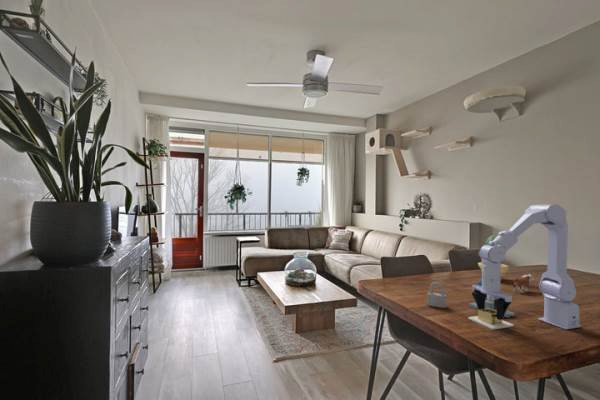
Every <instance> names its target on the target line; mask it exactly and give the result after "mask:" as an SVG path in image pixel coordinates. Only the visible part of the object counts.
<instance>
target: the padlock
mask: <svg viewBox="0 0 600 400" xmlns="http://www.w3.org/2000/svg"><path fill="white" fill-rule="evenodd" d="M434 286H439V287H440V293H439V292H438V293H437V292H433V291H434ZM426 302H427V304H426V305H427V306H430V307H435V308H440V309H441V308H442V309H446V308H447V295H446V294H445V287H444V285H443V284H442V283H441V282H437V281H434V282H432V283H430V286H429V292H427V301H426Z"/></svg>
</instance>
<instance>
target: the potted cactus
mask: <svg viewBox="0 0 600 400" xmlns="http://www.w3.org/2000/svg"><path fill="white" fill-rule="evenodd" d="M497 236H498V235H496V236H495V235H490V236H489V237H488V238H487V239H486V241H485V245H489V242H490V241H493V240H494V239H495V238H496V237H497ZM477 264H478V268H479V269H480V271H481V272H482V261H481V262H477ZM509 268H510V266H509V265H506V264H503V263H501V265H500V281H503V279H502V278H503V277H505V275H506V273H507V271H508V270H509Z"/></svg>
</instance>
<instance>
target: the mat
mask: <svg viewBox="0 0 600 400" xmlns="http://www.w3.org/2000/svg"><path fill="white" fill-rule="evenodd" d="M468 320H470V321H472V322H475V323H476V324H479V325H481V326H484V327H486V328H488V329H490V330H491V331H492V330H497V329H498V330H499V329H505V328H511V327H514V324H513V323H511V322H508V321H505V320H503V323H499V324H492V325H491V324H489V323H487V322H484V321H482V320H480V319H478V315H475V316H468Z"/></svg>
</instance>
